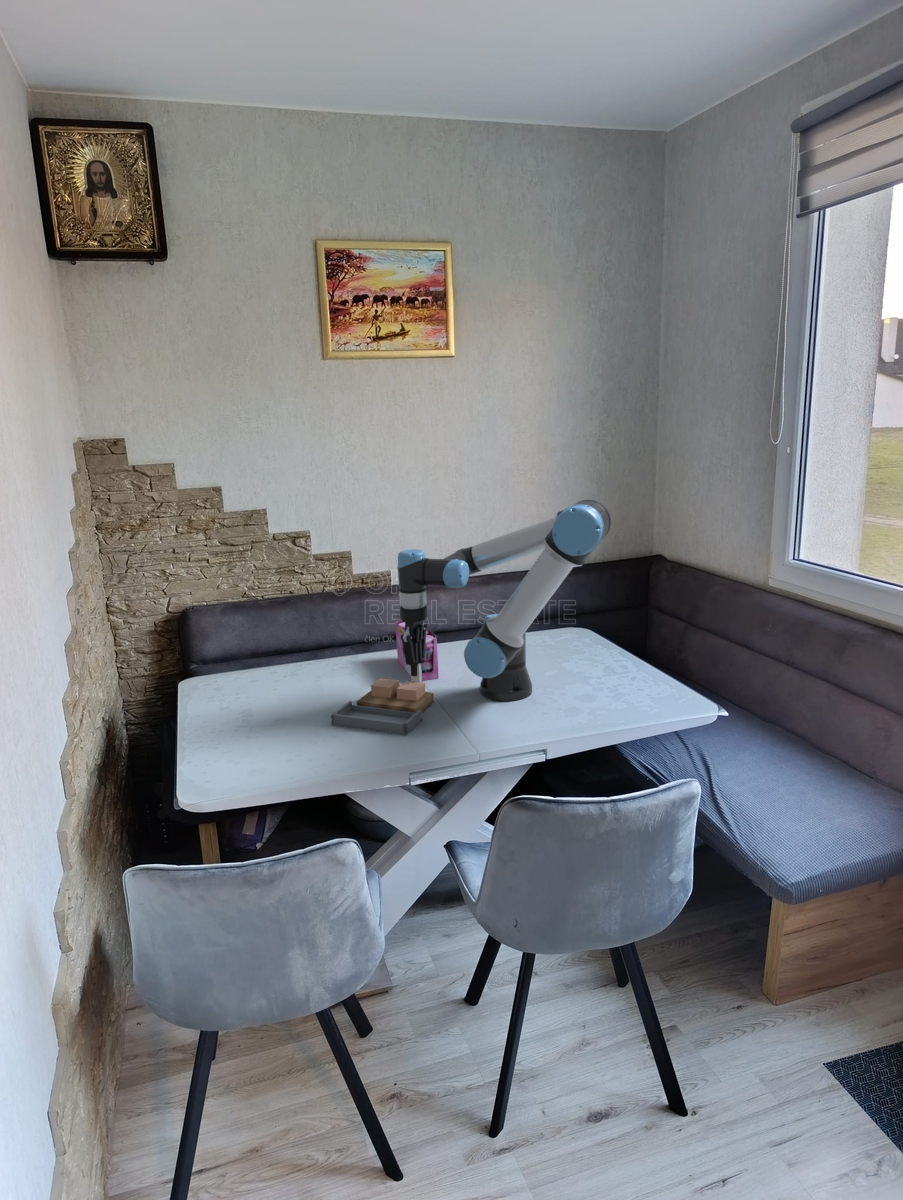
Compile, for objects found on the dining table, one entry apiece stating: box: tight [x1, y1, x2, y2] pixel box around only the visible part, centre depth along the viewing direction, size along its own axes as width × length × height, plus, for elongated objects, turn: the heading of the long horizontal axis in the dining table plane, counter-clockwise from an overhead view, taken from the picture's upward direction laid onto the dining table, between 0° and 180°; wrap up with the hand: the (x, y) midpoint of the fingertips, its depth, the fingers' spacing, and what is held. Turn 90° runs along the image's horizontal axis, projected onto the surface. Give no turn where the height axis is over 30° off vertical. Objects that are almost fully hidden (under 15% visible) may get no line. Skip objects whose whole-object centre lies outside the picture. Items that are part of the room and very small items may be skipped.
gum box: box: [395, 620, 440, 682], centre depth 244 cm, size 24×8×14 cm, turn 18°
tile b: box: [370, 678, 401, 698], centre depth 218 cm, size 6×6×3 cm
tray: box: [330, 700, 423, 736], centre depth 205 cm, size 22×10×3 cm, turn 68°
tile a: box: [397, 680, 426, 701], centre depth 215 cm, size 6×6×3 cm
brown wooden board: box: [356, 690, 435, 714], centre depth 216 cm, size 18×12×3 cm, turn 68°
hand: (416, 685), depth 219 cm, fingers closed
